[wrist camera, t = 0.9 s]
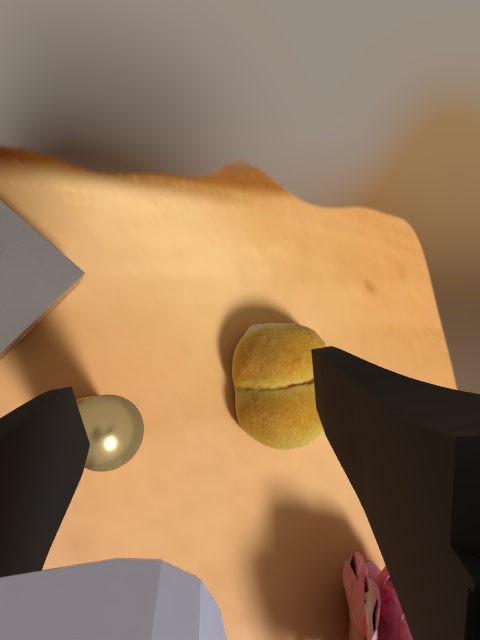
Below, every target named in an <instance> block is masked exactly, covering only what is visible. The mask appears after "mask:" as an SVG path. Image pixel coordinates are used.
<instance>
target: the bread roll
mask: <svg viewBox="0 0 480 640" xmlns="http://www.w3.org/2000/svg"><path fill="white" fill-rule="evenodd" d="M323 347H326V346H325V343H324V341H323V340H322V339H321V338H320V336H319V335H318V334H317V333H316V332H315V331H314V330H312V329H310V328H308V327H305V326H302V325H299V324H297V323H293V322H292V323H264V324H262V323H260V324H255V325H251V326H250V327H249V328H248V329H247V331H246V332H245V334H244V336H243V337H242V338H241V339H240V341H239V342H238V344H237V346H236V348H235V351H234V355H233V361H232V378H233V383H234V391H235V408H236V415H237V420H238V422H239V425H240V426H241V427H242V429H243V430H244V431H245V432H246V433H247V434H249V435H250V436H251V437H252V438H254V439H255V440H257V441H258V442H260V443H262V444H264V445H266V446H269V447H272V448H275V449H279V450H290V449H296V448H299V447H303V446H305V445H308V444H309V443H311V442H312V441H314V440H315V439H316V438H318V437H319V436H320V435H321V433H322V432H323V431H324V429H323V426H322V424H321V421H320V418H319V415H318V412H317V409H316V400H315V388H314V377H313V365H312V353H311V349H316V348H323Z"/></svg>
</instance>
